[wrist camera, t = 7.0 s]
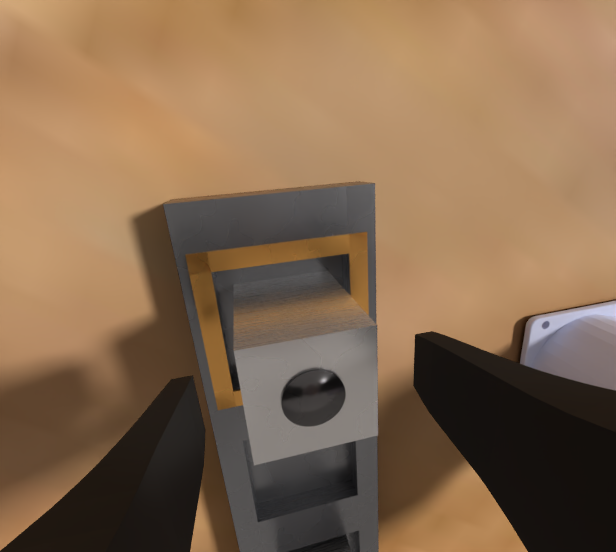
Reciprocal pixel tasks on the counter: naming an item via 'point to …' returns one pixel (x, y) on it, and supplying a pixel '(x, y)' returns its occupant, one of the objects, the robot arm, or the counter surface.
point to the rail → (222, 366)
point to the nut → (327, 546)
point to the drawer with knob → (304, 365)
